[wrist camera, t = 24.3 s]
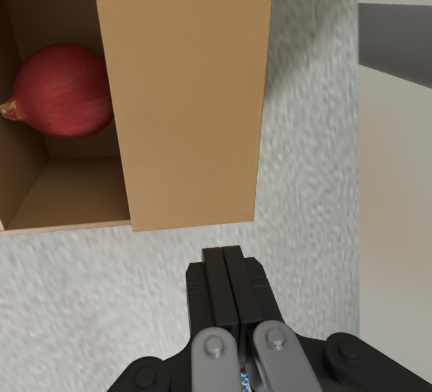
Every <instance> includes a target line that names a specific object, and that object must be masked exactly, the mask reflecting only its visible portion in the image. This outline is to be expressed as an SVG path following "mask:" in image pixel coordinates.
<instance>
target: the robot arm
mask: <svg viewBox="0 0 432 392" xmlns="http://www.w3.org/2000/svg"><path fill="white" fill-rule="evenodd" d="M186 291H187V306H188V317H189V328H190V340H189V342H188V344H187V345H186V347H185V348H184V349H183V350H182V351H181V352H179V353H178V354H176V355H174V356H172V357H170V358H168V359H166V360H164V361H163V360H161V359H159V358H157V357H153V356H146V357H142V358H139V359H137V360H135V361H133V362H132V363H131V364H130V365H129V366H128V367H127V368H126V369H125V370H124V371H123V373H122V374H121V375H120V376H119V377H118V379H117V380H116V381H115V382H114V383H113V385H112V386H111V387H110V388H109V389H108V391H107V392H243V388H242V381H241V373H240V367H241V366H246V370H247V374H248V384H247V385H248V392H432V384H430V383H429V382H427V381H425V380H424V379H422V378H421V377H419V376H418V375H416V374H414V373H413V372H411V371H410V370H408V369H406V368H405V367H403V366H402V365H400V364H399V363H397V362H395V361H394V360H392V359H391V358H389V357H387V356H386V355H384V354H383V353H381V352H380V351H378V350H376V349H375V348H373V347H372V346H370V345H369V344H367V343H365V342H364V341H362V340H361V339H359V338H357V337H356V336H354V335H351V334H348V333H343V332H338V333H334V334H332V335H330V336H329V337H328V338H327V340H326V341H323V340H318V339H312V338H307V337H303V336H301V335H299V334H297V333H295V332H294V331H293V330H292V329H291V328H290V327H289V326H288V325H286V324H285V322H284V320H283V318H282V315H281V313H280V310H279V308H278V305H277V302H276V300H275V297H274V295H273V292H272V289H271V287H270V284H269V282H268V279H267V278H266V274H265V271H264V269H263V266H262V265H261V264H260V263H259V262H258V261H257V260H256V259H255V258H254V257H249V258H244V256H243V253H242V250H241V247H240V246H239V245H237V246H225V247H221V248H220V247H215V248H203V249H202V262H196V263H190V265H189V267H188V269H187V271H186Z"/></svg>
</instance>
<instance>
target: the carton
mask: <svg viewBox="0 0 432 392" xmlns="http://www.w3.org/2000/svg"><path fill="white" fill-rule="evenodd" d="M56 43H74V44H76V45H79V46H82V47H84V48H87V49H88V50H90V51H91V52H92V53H94V54H95V55H97V56H98V57H99V58H101V59H102V60H104V61H105V62H106V60H105V53H104V47H103V41H102V34H101V28H100V22H99V15H98V9H97V3H96V0H0V105H2V104H5V103H6V102H7V101H8V99H9V98H10V97H11V95H12V88H13V84H14V81H15V77H16V75H17V72H18V70H19V68H20V67H21V65H22V63H23V62H24V61H25V60H26V59H27V58H28V57H29V56H30V55H31V54H33V53H35V52H36V51H38V50H40V49H42V48H44V47H46V46H49V45H52V44H56ZM122 225H132V223H131V217H130V211H129V205H128V198H127V192H126V186H125V179H124V173H123V167H122V160H121V154H120V148H119V142H118V135H117V129H116V123H115V117H114V118H113V119H112V121H111V122H110V124H109V125H108V126H107V128H105V129H104V130H102V131H101V132H100V133H98V134H96V135H94V136H91V137H88V138H83V139H61V138H56V137H52V136H48V135H45V134H43V133H42V132H40V131H38V130H36V129H34V128H32V127H31V126H29V125H28V124H26V123H24V122H21V121H18V120H15V121H14V120H9V119H7V118H4V117H3V115H2V113H1V112H0V236H8V235H20V234H31V233H43V232H54V231H65V230H77V229H88V228H100V227H111V226H122Z"/></svg>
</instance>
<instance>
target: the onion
mask: <svg viewBox="0 0 432 392" xmlns="http://www.w3.org/2000/svg"><path fill="white" fill-rule="evenodd" d="M0 112H1V113H2V115H3V117H4V118H7V119H9V120H14V121H15V120H18V121H21V122H24V123H26V124H28V125H29V126H31V127H32V128H34V129H36V130H38V131H40V132H42V133H43V134H45V135H48V136H52V137H56V138H61V139H83V138H88V137H91V136H94V135H96V134H98V133H100V132H101V131H102V130H104V129H105V128H107V126H108V125H109V124H110V122H111V121H112V119H113V118H114V117H115V116H114V110H113V104H112V97H111V91H110V85H109V78H108V72H107V66H106V62H105V61H104V60H102V59H101V58H99V57H98V56H97V55H95V54H94V53H92V52H91V51H90V50H88V49H87V48H84V47H82V46H79V45H76V44H74V43H56V44H52V45H49V46H46V47H44V48H42V49H40V50H38V51H36V52H35V53H33V54H31V55H30V56H29V57H28V58H27V59H26V60H25V61H24V62H23V63H22V65H21V67H20V68H19V70H18V72H17V75H16V77H15V81H14V84H13V88H12V95H11V97H10V98H9V99H8V101H7V102H6V103H5V104H2V105H0Z"/></svg>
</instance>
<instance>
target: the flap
mask: <svg viewBox="0 0 432 392" xmlns="http://www.w3.org/2000/svg"><path fill="white" fill-rule="evenodd" d="M96 3H97V9H98V15H99V22H100V28H101V34H102V41H103V47H104V53H105V60H106V66H107V72H108V78H109V85H110V91H111V97H112V104H113V110H114V116H115V123H116V129H117V135H118V142H119V148H120V154H121V160H122V167H123V173H124V179H125V186H126V192H127V198H128V205H129V211H130V217H131V223H132V230H133V232H139V231H150V230H161V229H172V228H183V227H194V226H205V225H215V224H226V223H237V222H248V221H253V219H254V207H255V195H256V183H257V172H258V160H259V148H260V136H261V125H262V113H263V101H264V89H265V78H266V66H267V54H268V42H269V31H270V19H271V7H272V0H96Z"/></svg>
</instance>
